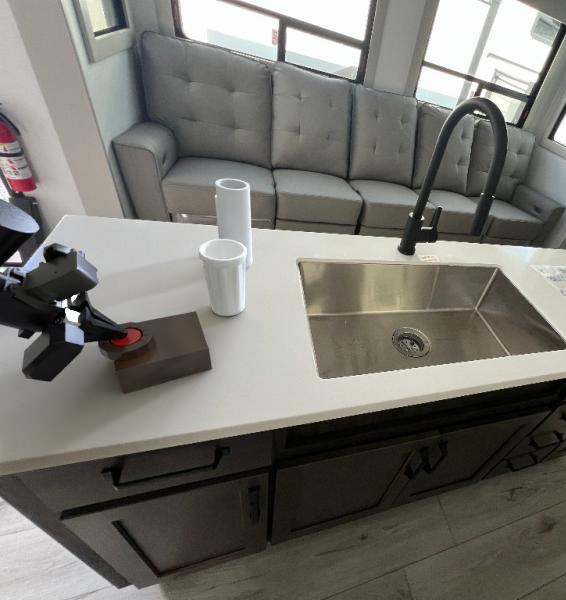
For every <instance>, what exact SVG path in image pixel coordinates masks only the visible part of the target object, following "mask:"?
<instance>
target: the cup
mask: <svg viewBox="0 0 566 600" xmlns="http://www.w3.org/2000/svg"><path fill="white" fill-rule="evenodd" d="M198 256H199V258H200V260H201V261H202V266H203V270H204V271H203V272H204V275H205V281H206V286H207V290H208V296H209V301H210V306H211V310H212V311H213V313H214V314H215V315H219V316H220V317H221V316H222V317H232V316H235V315H239V314H240V313H241V312H243V311H244V310H245V308H246V268H245V259H246V257H247V250H246V247H245V246H244V245H243V244H241V243H239V242H237V241H234V240H229V239H219V238H215V239H211V240H207V241H205V242H203V243H201V245H200V246H199V247H198Z"/></svg>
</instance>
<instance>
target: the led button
mask: <svg viewBox="0 0 566 600" xmlns="http://www.w3.org/2000/svg"><path fill="white" fill-rule="evenodd" d="M126 330H127V331H128V335H127V336H126V337H125V338H124V339H116V340H111V342H112V345H113V346H118V347H124V346H129V345H132V344H134V343H136V342H138V341H140V339H141V338H142V336H141V333H140V332H139V331H138V330H135V329H126Z"/></svg>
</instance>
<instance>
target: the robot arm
mask: <svg viewBox="0 0 566 600" xmlns="http://www.w3.org/2000/svg"><path fill="white" fill-rule="evenodd" d="M39 230H40V226H39V223H38V222H37V221H36V220H35V219H34V217H32V216H31V215H30V214H29V213H28V212H26V211H25V210H23V209H21V208H20V207H18V206H17V205H15V204H13V203H11V202H9V201H7V200H5V199H2V198H0V268H2V267H3V266H4V265H5V264H6V263H7V262H8V261H9V260H10V259H11V258H12V257H13V256H14V255H15V254H16V253H17V252H18V251H19V250H20V249H21V248H22V247H23V246H24V245H25V244H26V243H27V242H29V240H30V239H31V238H32V237H33V236H34V235H36V233H37V232H38V231H39ZM42 256H43V259H44V261H45V262H44V261H40V262H38V266H37V267H36V268H34V269H32V270H26V269H22V268H20V267H17V266H16V267H10V266H8V267H6V268H5V270H4V271H0V326H3V327H8V328H12V329H16V330H18V331H17V338H19V339H20V338H21V339H25V340H30V339H31V338H32V337H33V336H34V335H35V334H36V333H39V334H40V333H41V334H40V335H38V337H36V339H35V340H34V341H32V343H30V345H29V346H27V348H26V349H24V350H23V358H22V365H21V366H22V367H21V372H22V374H23V375H24V377H25V378H26V379H27V380H33V381H40V382H47V383H51V382H52V381H53V380H54V379H56V377H57V376H58V375H59V374H61V372H62V371H63V370H64V369H66V368H67V367H68V366H69V365H70V364H71V363H72V362H73V361H74V360H75V359H76V358H77V357H78V356H80V354H81V353H82V351H83V349H84V347H85V344H88V343H89V344H90V343H98V341H107V340H116V339H124V338H125V337H126V336H127V335H128V331H127V330H126V329H125V328H123V327H122V326H120V325H119V324H120V323H117V322H116V321H114V320H113V319H111V318H109V317H108V316H107V315H105V314H104V313H102V312H101V311H100V310H98V309H97V308H95V307H94V306H93V305H92V302H91V300H90V296H89V292H90V291H91V290H93V289H94V288H95V287H96V286H98V284H99V278H98V276H97V274H98V273H97V272H98V268H97V267H96V266H95V265H94V264H92V263H91V262H90V261H88V260H87V259H86V254H85V252H84V251H82V250H77V249H75V248H74V247H69V246H66V245H63V244H60V243H57V242H53V243H51V244H49V245H46V246H44V247H43V251H42Z"/></svg>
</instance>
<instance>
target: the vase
mask: <svg viewBox="0 0 566 600" xmlns="http://www.w3.org/2000/svg"><path fill="white" fill-rule="evenodd" d="M214 185H215V195H214V203H215V212H216V223H217V233H218V234H217V235H218V239H229V240H234V241H237V242H239V243H241V244H243V245H244V246H245V247H246V250H247V257H246V259H245V269H248V268H249V267H251V266H252V265H253V242H252V211H251V185H250V183H248V182H247V181H244V180H241V179H237V178H228V177H227V178H220V179H217V180H216V181H215V184H214Z"/></svg>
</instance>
